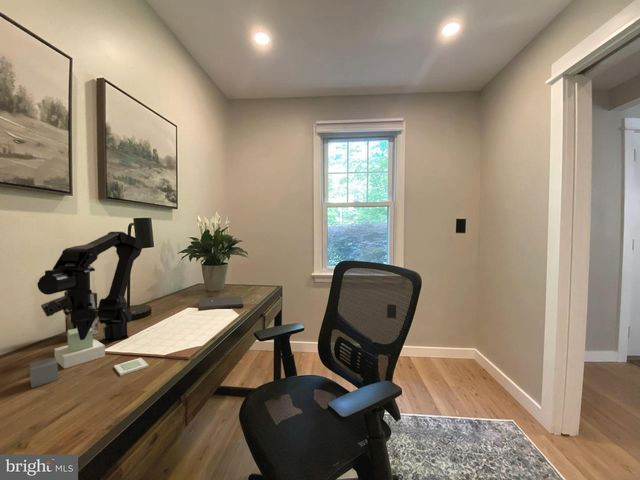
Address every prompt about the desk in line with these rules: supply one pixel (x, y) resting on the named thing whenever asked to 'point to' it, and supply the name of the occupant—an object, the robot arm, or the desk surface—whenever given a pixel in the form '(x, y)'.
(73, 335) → the sage cube
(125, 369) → the card
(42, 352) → the desk surface
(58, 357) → the plinth
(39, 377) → the slate cube
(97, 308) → the robot arm
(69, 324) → the coffee box
